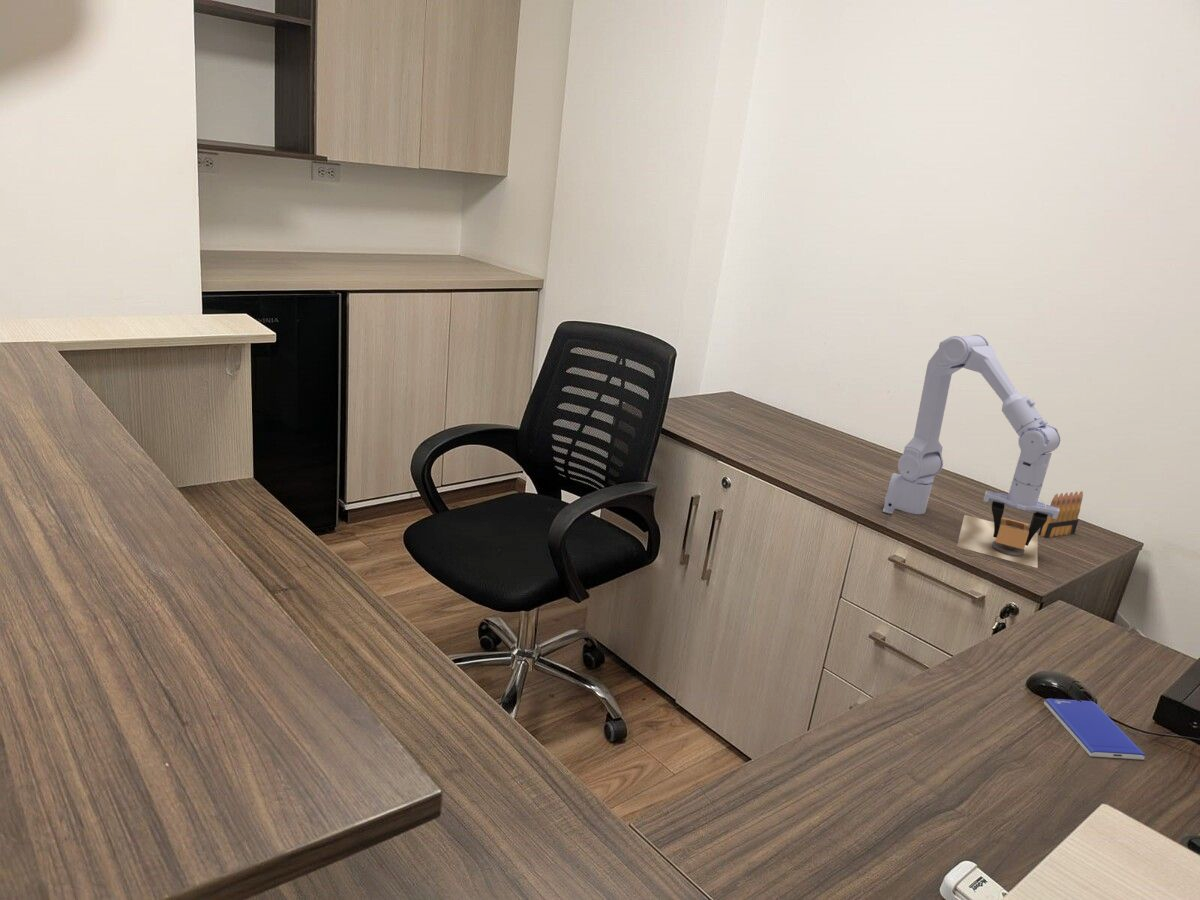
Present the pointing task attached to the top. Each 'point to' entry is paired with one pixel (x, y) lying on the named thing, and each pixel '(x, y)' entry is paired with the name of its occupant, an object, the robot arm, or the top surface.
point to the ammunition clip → (1063, 515)
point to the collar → (1012, 533)
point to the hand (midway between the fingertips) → (1010, 539)
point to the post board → (981, 540)
